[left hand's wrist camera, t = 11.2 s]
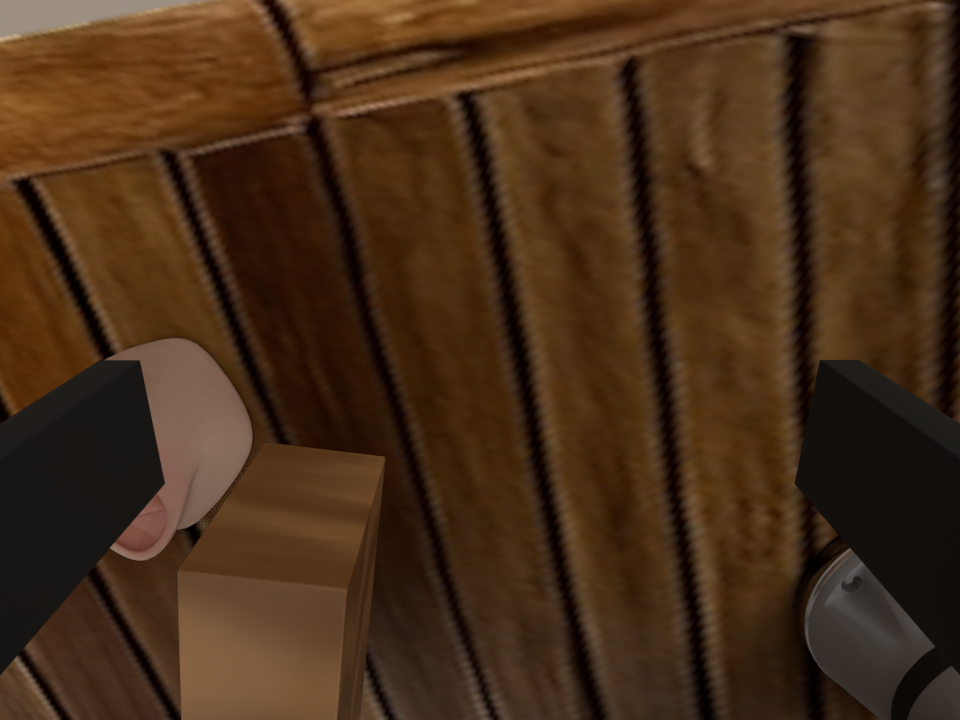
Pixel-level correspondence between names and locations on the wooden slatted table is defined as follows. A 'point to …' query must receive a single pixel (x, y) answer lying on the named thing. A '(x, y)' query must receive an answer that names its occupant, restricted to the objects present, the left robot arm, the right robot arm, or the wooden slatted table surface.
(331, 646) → the bar
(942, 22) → the wooden slatted table surface
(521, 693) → the wooden slatted table surface
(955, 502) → the left robot arm
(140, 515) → the anatomical model
